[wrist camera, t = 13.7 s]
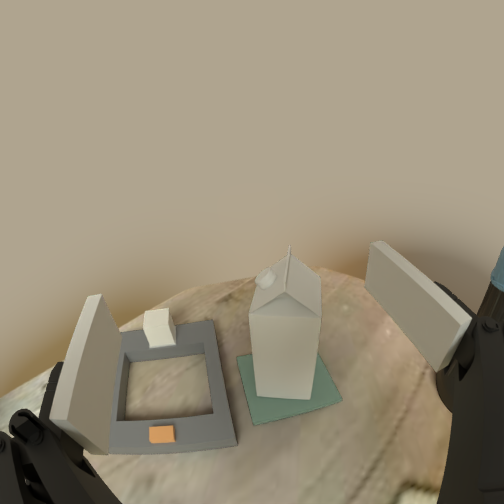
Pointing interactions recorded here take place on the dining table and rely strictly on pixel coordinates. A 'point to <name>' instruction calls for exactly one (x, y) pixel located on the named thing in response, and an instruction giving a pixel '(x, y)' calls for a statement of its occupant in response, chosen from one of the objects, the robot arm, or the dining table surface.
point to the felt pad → (281, 407)
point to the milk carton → (285, 329)
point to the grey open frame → (176, 429)
